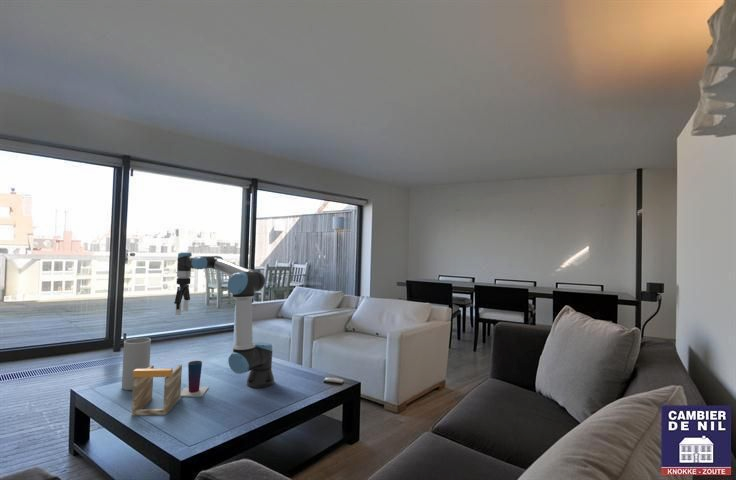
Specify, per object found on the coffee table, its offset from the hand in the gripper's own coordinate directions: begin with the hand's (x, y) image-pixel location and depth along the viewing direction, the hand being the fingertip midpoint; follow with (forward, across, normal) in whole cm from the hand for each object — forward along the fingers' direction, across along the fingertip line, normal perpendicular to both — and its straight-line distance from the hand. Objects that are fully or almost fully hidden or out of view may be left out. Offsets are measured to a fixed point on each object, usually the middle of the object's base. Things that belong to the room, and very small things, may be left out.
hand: (181, 312), depth 229 cm
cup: (+36, +30, +17) cm, 50 cm away
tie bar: (+20, +54, +5) cm, 57 cm away
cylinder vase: (+37, +20, -16) cm, 45 cm away
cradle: (+37, +47, +5) cm, 59 cm away
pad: (+37, +30, +17) cm, 50 cm away
